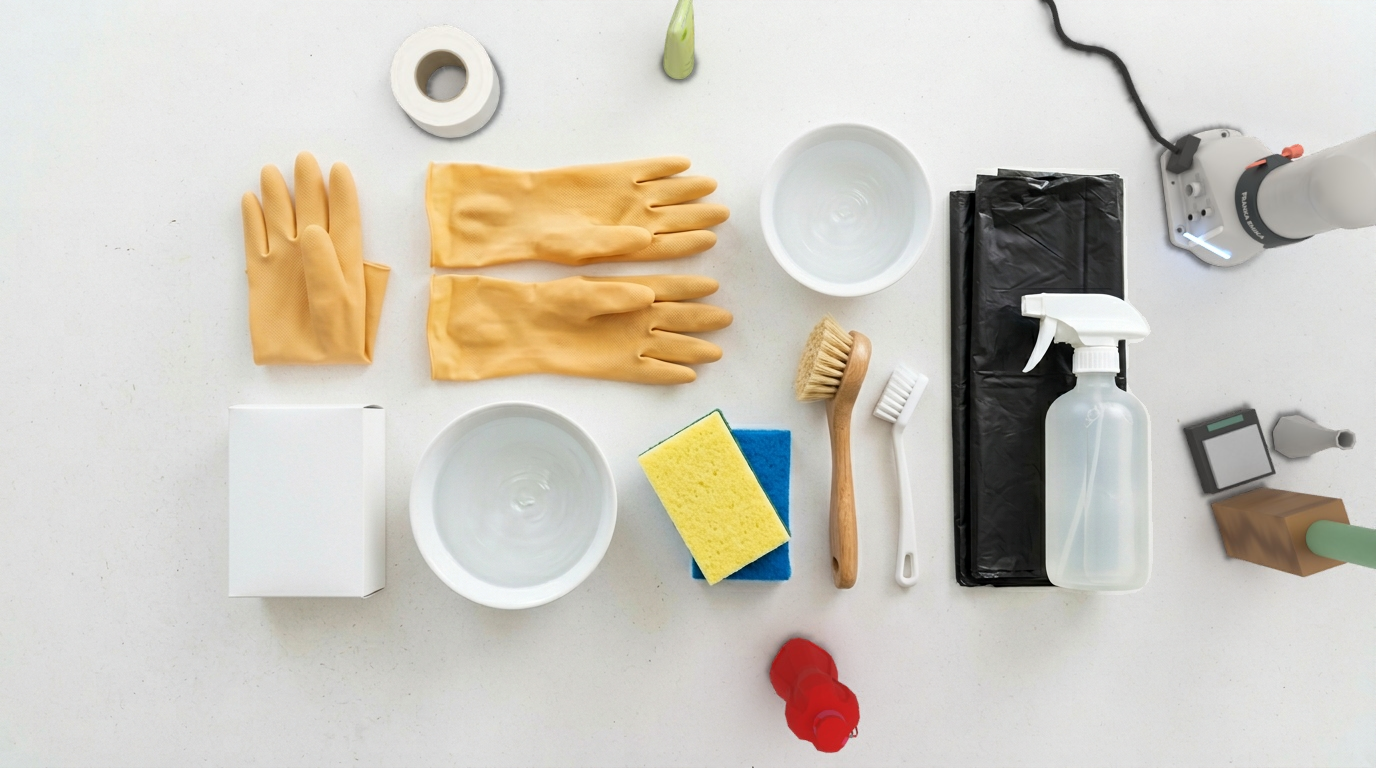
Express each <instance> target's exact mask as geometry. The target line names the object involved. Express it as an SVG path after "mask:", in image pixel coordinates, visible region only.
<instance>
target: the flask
mask: <svg viewBox="0 0 1376 768" xmlns="http://www.w3.org/2000/svg"><path fill="white" fill-rule="evenodd" d="M1272 437H1273V445H1274V451H1277V452H1278V453H1280V454H1281V455H1284V456H1285V457H1286V458H1288V459H1297V458H1304V457H1309V456H1312V455H1314V454H1316V453H1319V452H1322V451H1325V450H1328V449H1332V448H1333V449H1335V448H1336V449H1340V450H1342V451H1347V450H1348V451H1349V450H1353V449H1354V447H1355V446H1356V443H1357V437H1356V433H1355V432H1354V431H1352V430H1350V429H1347V428H1346V429H1339V430H1335V429H1331V428H1328V427H1325V426H1323V425H1320V424H1318V423H1316V422H1313V421H1311V420H1309V419H1307V418H1306V417H1304V416H1302V415H1299V414H1294V415H1287V416H1280V418H1279V420H1278V422H1277V424H1276V425H1275V427H1274V428H1273V431H1272Z"/></svg>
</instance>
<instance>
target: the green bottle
mask: <svg viewBox="0 0 1376 768" xmlns="http://www.w3.org/2000/svg"><path fill="white" fill-rule="evenodd" d="M1306 543H1307V546H1308V548H1309V549H1310V550H1311V551H1312V552H1313V553H1314V554H1316V555H1318V556H1322V557H1326V558H1331V559H1335V560H1339V561H1343V562H1347V563H1346V564H1352V565H1356V566H1360V567H1364V568H1368V569H1373V570H1376V528H1371V527H1365V526H1359V525H1354V524H1350V525H1349V524H1343V523H1338V522H1333V521H1327V520H1320V521H1317V522H1315V523H1313V524H1312V525H1311V526H1310V527H1309V528H1308V530H1307V533H1306Z"/></svg>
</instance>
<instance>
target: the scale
mask: <svg viewBox="0 0 1376 768" xmlns="http://www.w3.org/2000/svg"><path fill="white" fill-rule="evenodd" d="M1183 431H1184V435H1185V437H1186V441H1187V444H1188V447H1189V450H1190V454H1191V456H1192V459H1193V462H1194V463H1193V464H1194V465H1195V468H1196V471H1197V475H1198V478H1199V482H1200V484H1201V487H1202V490H1203V493H1204V494H1209V495H1216V494H1218V493H1221V492H1224V491H1227V490H1230V489H1233V488H1237V487H1239V486H1242V485H1243V486H1244V485H1245V484H1249V483H1251V482H1254V481H1257V480H1260V479H1265V478H1267V477H1270V476H1273V475H1276V474H1277V472H1276V469H1275V466H1274V462H1273V460H1272V456H1271V454H1270V451H1269V447H1268V444H1267V442H1266V439H1265V436H1264V432H1263V429H1262V426H1261V423H1260V420H1259V417H1258V414H1257V411H1256V408H1243V409H1240V410H1238V411H1237V410H1236V411H1234V412H1230V413H1227V414H1225V415H1222V416H1219V417H1215V418H1212V419H1209V420H1206V421H1202V422H1201V423H1197V424H1194V425H1191V426H1188V427H1185V428H1183Z"/></svg>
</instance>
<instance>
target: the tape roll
mask: <svg viewBox="0 0 1376 768" xmlns="http://www.w3.org/2000/svg"><path fill="white" fill-rule="evenodd" d="M392 58H393V59H392V62H391V65H390V72H389V79H390V80H389V81H390V86H391V90H392V94H393V96H394V98H395V100H396V102H397V103H398V104H399V106H400V107H401V108H402V110H403V111H404V112H405V113H406V114H407V115H408V117H409V118H410V119H411V120H412V121H413V122H414V124H416V125H417V127H419V128H421V129H422V130H423V131H425V132H427V133H429V134H431V135H433V136H436V137H439V138H440V137H441V138H446V139H447V138H449V139H453V138H461V137H466V136H468V135H471V134H473V133H475V132H476V131H479V130H480V129H482V128H483V127H484V126H485V125H486V124H487V123H488V122H489V121H490V119H492V117H493V115H494V113H495V112H496V110H497V108H498V105H499V100H500V96H501V95H500V94H501V88H500V87H501V85H500V79H499V76H498V73H497V71H496V68H495V66H494V64H493V62H492V60H491V58H490V55H489V54H488V52H487V51H486V49H485V47H484V46H483V45H482V44H481V43H480V41H479V40H477V38H475V37H474V36H473V35H472V34H470V33H468V32H467V31H465V30H463V29H460V28H458V27H455V26H452V25H448V24H439V25H433V26H429V27H424V28H422V29H420V30H418V31H416V32H414V33H412V34H411V35H410V36H408V37H406V38H405V40H404V41H403V42H402V43H401V44H400V45H399V47H398V48H397V50H396V51H395V53H394V55H393V57H392ZM445 66H454V67H459V68H461V69H462V70H464V71H465V75H466V79H465V84H464V86H463V88H462V90H461V91H460V92H459V93H458V94H457V95H455V96H454V97H452V98H450V99H445V100H438V99H434V98H431V97H429V96H428V91H427V87H428V82H429V79H430V78H431V75H432V74H433V73H434V72H435V71H437V70H439V69H440V68H442V67H445Z"/></svg>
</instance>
